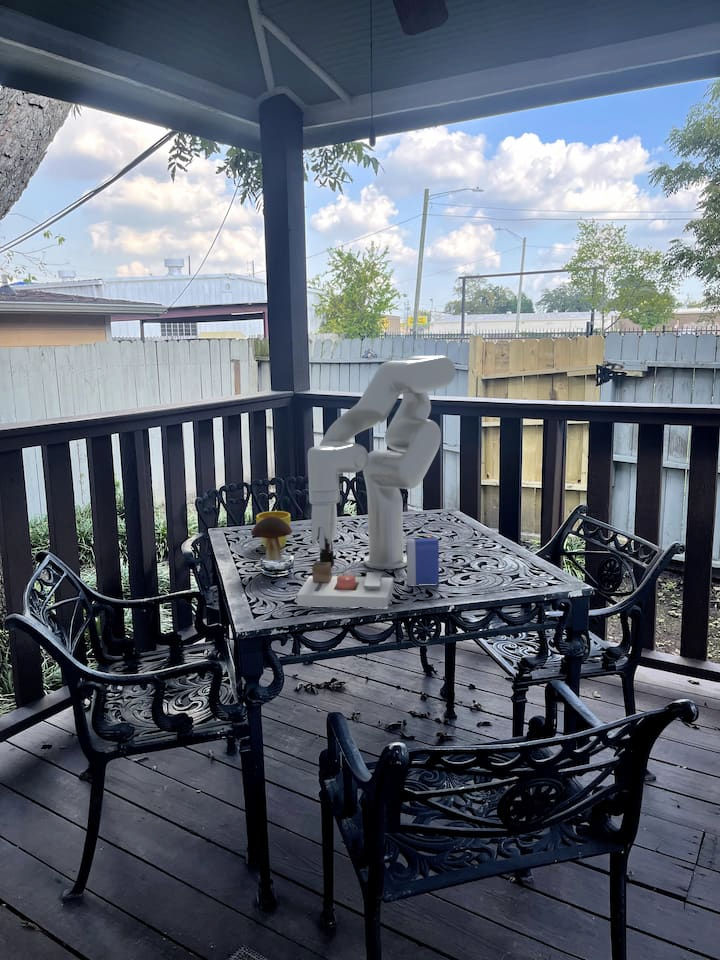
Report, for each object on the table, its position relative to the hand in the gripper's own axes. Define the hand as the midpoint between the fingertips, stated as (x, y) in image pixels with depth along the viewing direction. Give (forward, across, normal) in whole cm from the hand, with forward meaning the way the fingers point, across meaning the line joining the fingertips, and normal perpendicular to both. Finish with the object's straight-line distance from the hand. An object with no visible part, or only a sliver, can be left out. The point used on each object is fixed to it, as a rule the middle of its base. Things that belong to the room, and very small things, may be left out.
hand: (327, 566), depth 166 cm
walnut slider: (+2, +6, 0) cm, 7 cm away
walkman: (+5, -1, +24) cm, 25 cm away
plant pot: (+5, -31, -23) cm, 39 cm away
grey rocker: (+1, +9, +13) cm, 16 cm away
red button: (+2, +9, +7) cm, 12 cm away
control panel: (+5, +9, +7) cm, 12 cm away
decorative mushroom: (+5, -9, -17) cm, 20 cm away
